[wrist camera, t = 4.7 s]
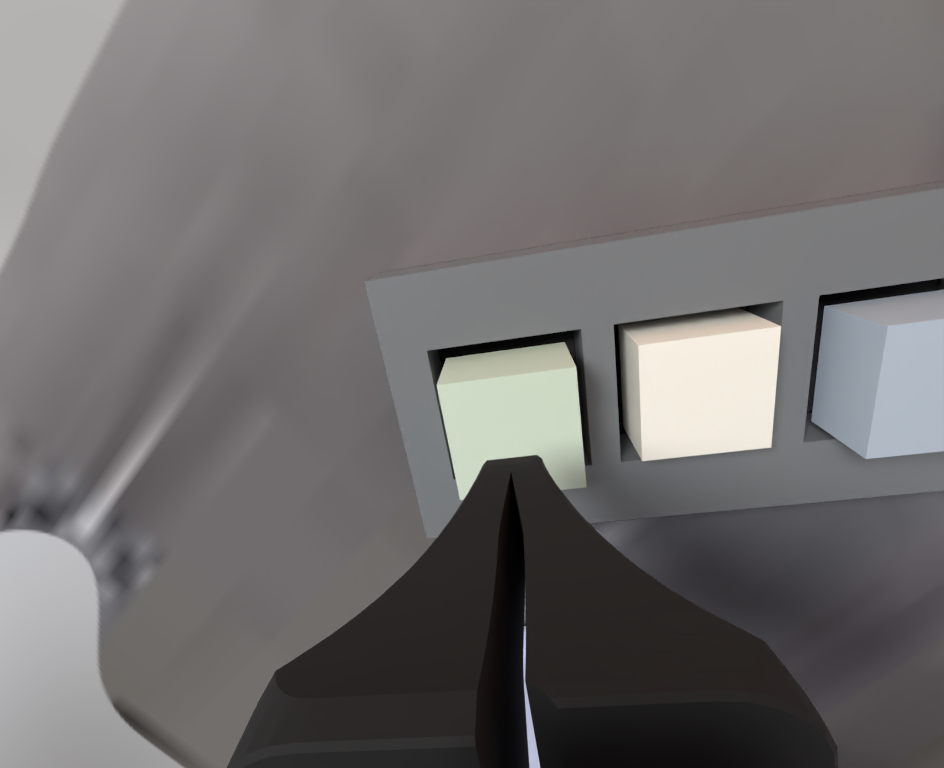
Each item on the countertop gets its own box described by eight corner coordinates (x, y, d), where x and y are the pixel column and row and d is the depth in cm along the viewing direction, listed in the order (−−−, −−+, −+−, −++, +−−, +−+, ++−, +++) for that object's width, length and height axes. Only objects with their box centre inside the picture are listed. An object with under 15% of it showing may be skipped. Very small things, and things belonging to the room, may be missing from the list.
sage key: (574, 447, 16) (586, 487, 14) (465, 459, 17) (460, 500, 15) (564, 341, 15) (576, 366, 13) (446, 358, 16) (436, 385, 13)
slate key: (940, 406, 15) (1019, 443, 13) (811, 421, 16) (865, 459, 13) (967, 286, 14) (1062, 303, 11) (824, 306, 14) (887, 326, 12)
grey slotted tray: (1128, 437, 17) (1207, 466, 15) (434, 506, 20) (427, 538, 18) (1249, 131, 13) (1372, 118, 11) (380, 272, 16) (364, 281, 14)
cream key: (734, 414, 17) (771, 447, 14) (623, 426, 17) (642, 461, 15) (739, 307, 15) (781, 326, 13) (618, 324, 16) (638, 345, 14)
